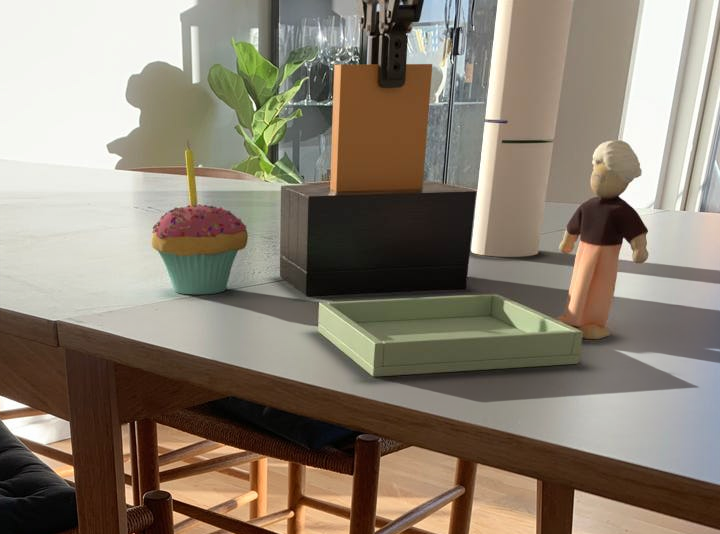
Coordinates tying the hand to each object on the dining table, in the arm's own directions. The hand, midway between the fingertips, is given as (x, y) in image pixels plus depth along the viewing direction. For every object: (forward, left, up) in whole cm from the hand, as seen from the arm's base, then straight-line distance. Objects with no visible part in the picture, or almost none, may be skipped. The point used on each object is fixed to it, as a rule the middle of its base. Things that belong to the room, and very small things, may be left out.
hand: (386, 86), depth 80 cm
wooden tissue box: (0, 0, -16) cm, 16 cm away
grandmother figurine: (-9, +23, -16) cm, 30 cm away
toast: (0, 0, -9) cm, 9 cm away
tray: (+3, +25, -16) cm, 30 cm away
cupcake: (+16, 0, -16) cm, 23 cm away
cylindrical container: (-20, -14, -16) cm, 29 cm away
